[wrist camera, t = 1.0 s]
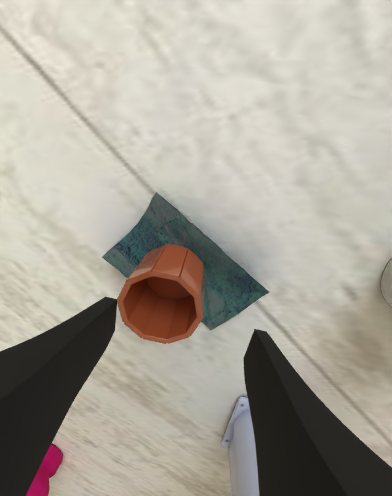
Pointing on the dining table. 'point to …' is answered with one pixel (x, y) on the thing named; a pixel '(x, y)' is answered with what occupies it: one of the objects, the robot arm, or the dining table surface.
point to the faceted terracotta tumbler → (164, 295)
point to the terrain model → (213, 258)
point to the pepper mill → (46, 472)
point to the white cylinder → (387, 283)
